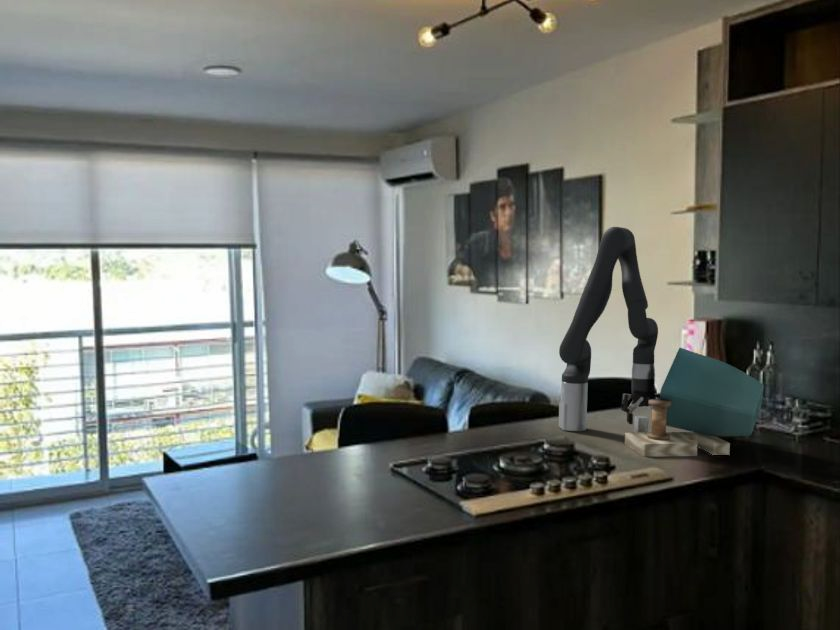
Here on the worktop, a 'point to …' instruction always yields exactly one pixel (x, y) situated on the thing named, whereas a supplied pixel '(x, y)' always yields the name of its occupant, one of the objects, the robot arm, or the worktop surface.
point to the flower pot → (710, 396)
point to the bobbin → (659, 419)
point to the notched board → (676, 444)
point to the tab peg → (641, 424)
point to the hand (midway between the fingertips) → (642, 423)
